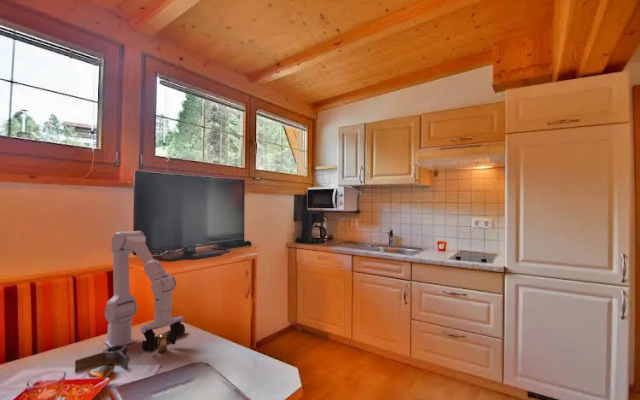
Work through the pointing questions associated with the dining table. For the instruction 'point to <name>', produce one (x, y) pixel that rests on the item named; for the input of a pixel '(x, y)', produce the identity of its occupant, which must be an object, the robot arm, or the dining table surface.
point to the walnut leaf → (93, 361)
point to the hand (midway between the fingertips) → (162, 347)
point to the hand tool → (145, 344)
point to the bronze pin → (162, 342)
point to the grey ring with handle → (117, 354)
